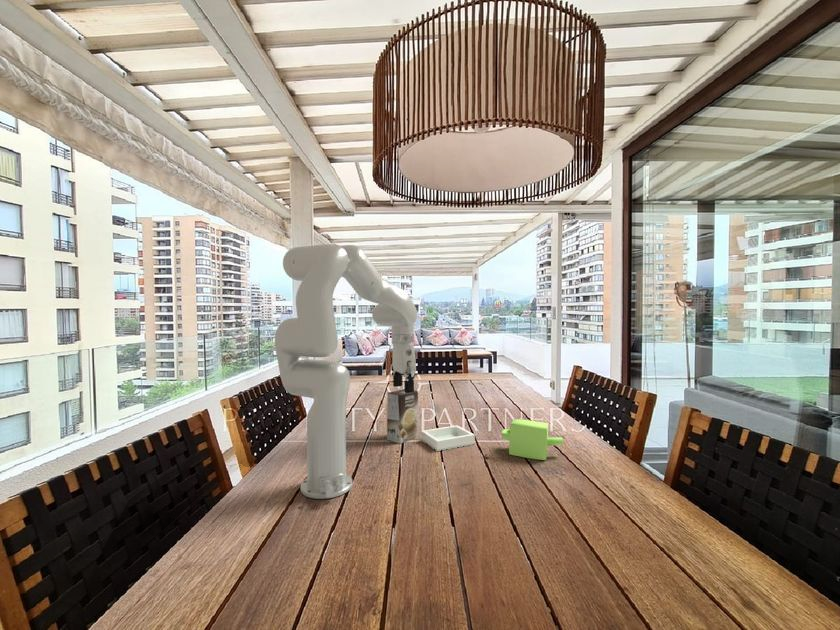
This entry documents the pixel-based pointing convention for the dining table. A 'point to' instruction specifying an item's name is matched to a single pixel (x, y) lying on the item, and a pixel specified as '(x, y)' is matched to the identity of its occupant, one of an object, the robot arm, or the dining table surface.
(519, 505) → the dining table surface
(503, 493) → the dining table surface
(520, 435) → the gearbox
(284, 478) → the dining table surface
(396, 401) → the coffee box
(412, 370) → the robot arm
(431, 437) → the locating tray
